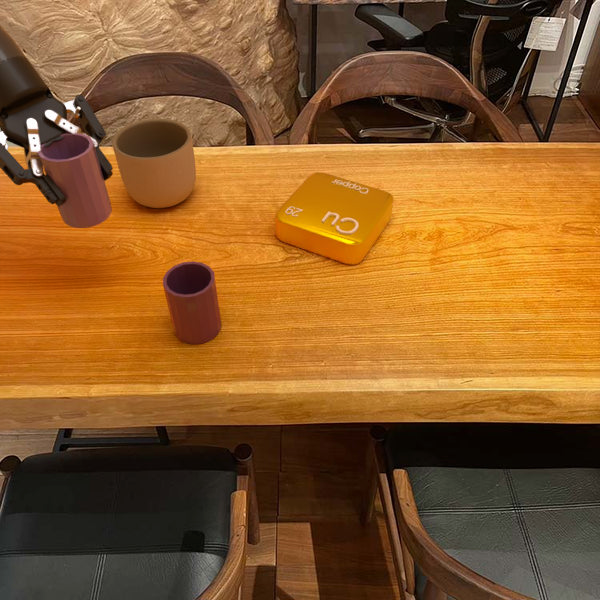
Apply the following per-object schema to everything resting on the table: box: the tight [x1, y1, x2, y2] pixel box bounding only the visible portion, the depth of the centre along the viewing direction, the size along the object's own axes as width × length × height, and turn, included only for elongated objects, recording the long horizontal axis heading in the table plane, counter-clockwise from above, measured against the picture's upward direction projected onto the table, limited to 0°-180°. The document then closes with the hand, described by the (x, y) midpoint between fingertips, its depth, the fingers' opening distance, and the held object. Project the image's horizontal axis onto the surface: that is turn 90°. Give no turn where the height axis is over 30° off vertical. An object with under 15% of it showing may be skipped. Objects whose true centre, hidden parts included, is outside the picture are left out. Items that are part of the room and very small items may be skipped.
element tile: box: [274, 171, 394, 265], centre depth 93 cm, size 15×15×5 cm
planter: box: [111, 117, 197, 209], centre depth 97 cm, size 12×12×11 cm
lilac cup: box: [38, 133, 113, 229], centre depth 74 cm, size 6×6×10 cm
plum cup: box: [162, 261, 222, 345], centre depth 77 cm, size 6×6×9 cm
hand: (86, 189), depth 74 cm, fingers closed on lilac cup, 6 cm apart
